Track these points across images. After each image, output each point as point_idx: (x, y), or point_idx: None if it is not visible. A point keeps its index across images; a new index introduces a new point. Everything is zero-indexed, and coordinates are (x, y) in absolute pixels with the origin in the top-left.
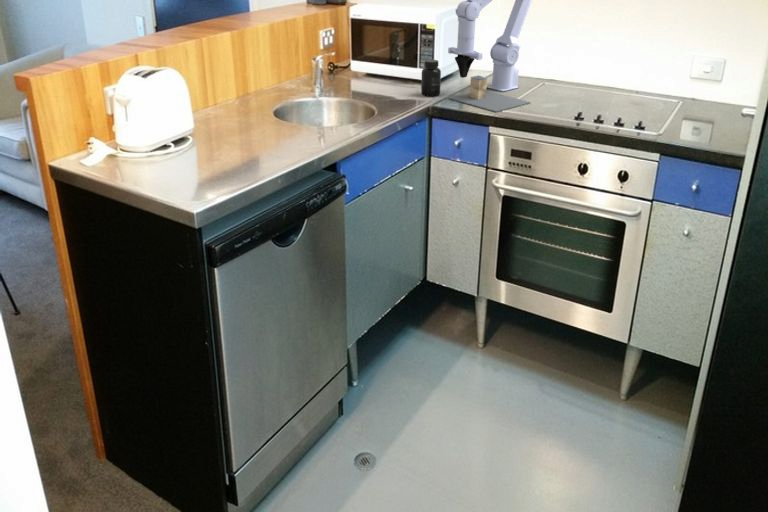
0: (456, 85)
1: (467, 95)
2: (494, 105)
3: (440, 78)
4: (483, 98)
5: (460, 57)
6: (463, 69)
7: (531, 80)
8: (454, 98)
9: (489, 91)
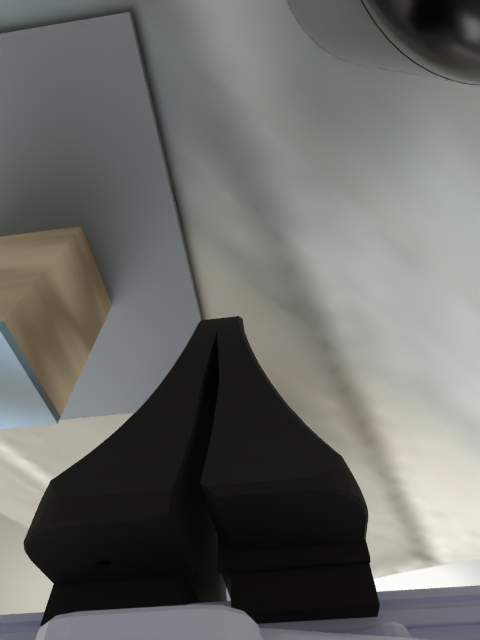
0: (425, 353)
1: (132, 241)
2: None
3: (334, 7)
4: None
5: (257, 544)
6: (163, 379)
7: None
8: (76, 56)
9: None
